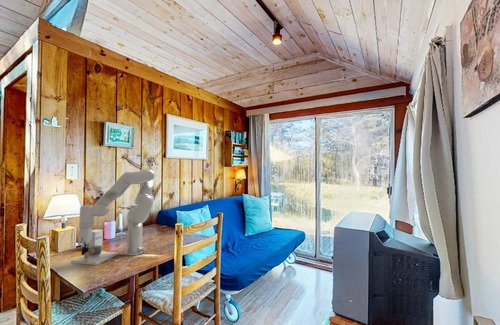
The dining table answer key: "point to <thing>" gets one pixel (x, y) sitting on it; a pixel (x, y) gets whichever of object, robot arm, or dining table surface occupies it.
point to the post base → (95, 258)
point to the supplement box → (96, 238)
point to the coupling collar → (93, 251)
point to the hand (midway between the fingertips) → (84, 254)
